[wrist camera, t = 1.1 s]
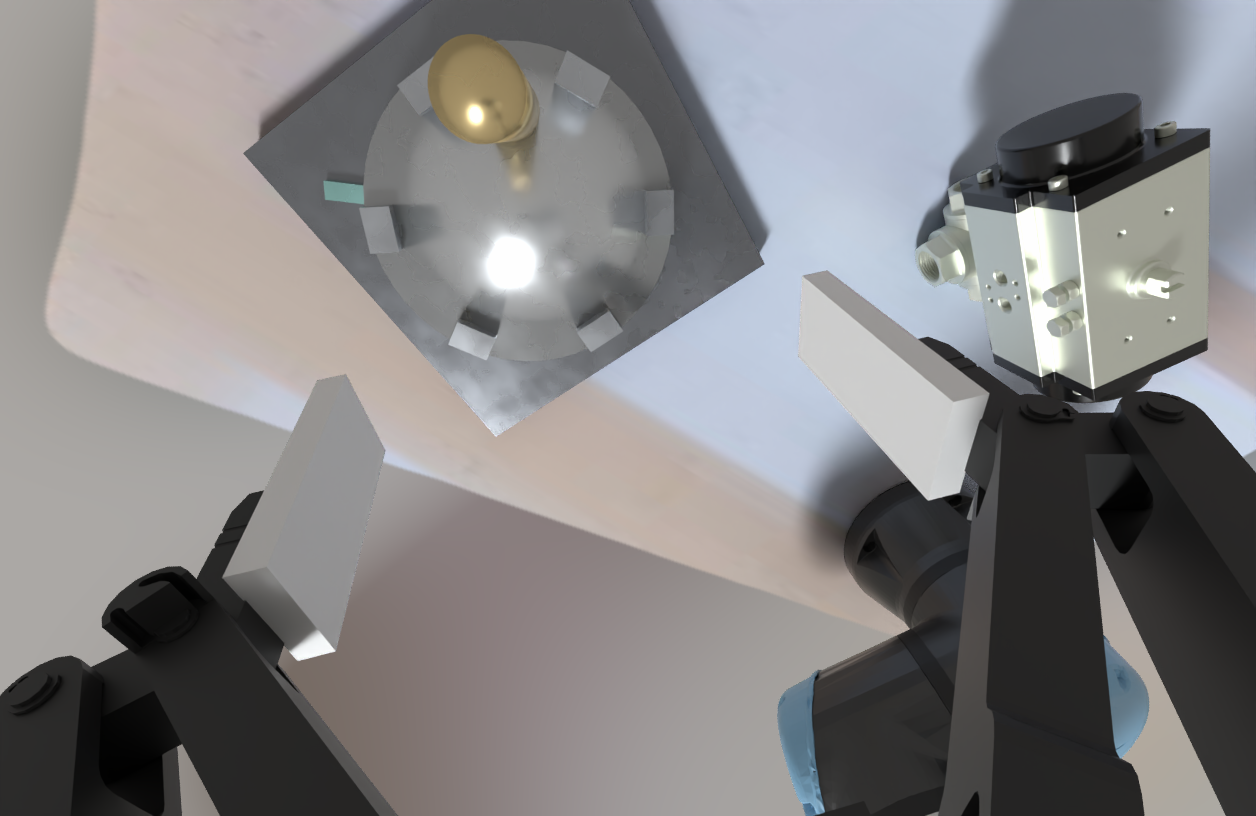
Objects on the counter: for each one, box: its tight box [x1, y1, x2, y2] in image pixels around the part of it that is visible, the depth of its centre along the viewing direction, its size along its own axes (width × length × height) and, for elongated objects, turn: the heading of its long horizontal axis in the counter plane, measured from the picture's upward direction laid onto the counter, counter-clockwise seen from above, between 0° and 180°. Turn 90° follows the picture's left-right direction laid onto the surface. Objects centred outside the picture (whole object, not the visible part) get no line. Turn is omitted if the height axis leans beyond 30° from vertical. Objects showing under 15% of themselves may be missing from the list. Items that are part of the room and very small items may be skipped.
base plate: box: [243, 0, 764, 436], centre depth 41 cm, size 26×26×3 cm
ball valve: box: [915, 93, 1210, 403], centre depth 38 cm, size 18×8×18 cm, turn 26°
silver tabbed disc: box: [359, 34, 674, 361], centre depth 32 cm, size 20×20×18 cm
